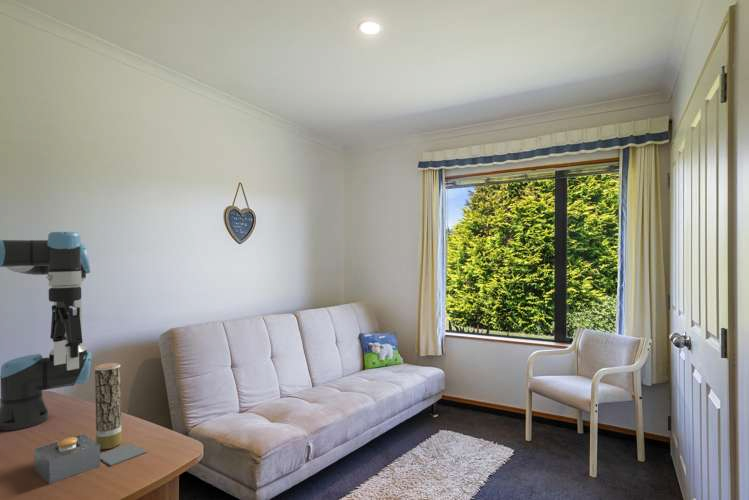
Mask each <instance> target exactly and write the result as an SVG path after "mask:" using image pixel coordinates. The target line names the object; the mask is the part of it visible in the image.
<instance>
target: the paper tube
mask: <svg viewBox="0 0 749 500" xmlns="http://www.w3.org/2000/svg"><path fill="white" fill-rule="evenodd" d="M121 372H122V368H121V363H118V362H110V363H104V364H98V365H97V366H95V367H94V375H95V376H94V379H95V380H94V382H95V383H94V387H95V389H94V390H95V393H94V394H95V441H96V442H97V443H99V444H100V450H111V449H115V448H116V447H119V445H120V444H121V443H122V386H121V385H122V380H121V379H122V378H121V376H122V374H121Z"/></svg>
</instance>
